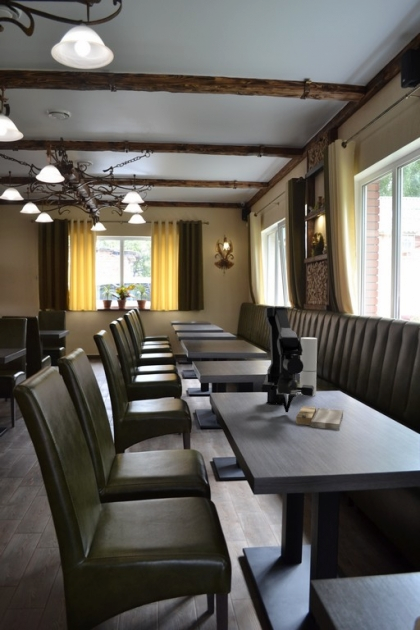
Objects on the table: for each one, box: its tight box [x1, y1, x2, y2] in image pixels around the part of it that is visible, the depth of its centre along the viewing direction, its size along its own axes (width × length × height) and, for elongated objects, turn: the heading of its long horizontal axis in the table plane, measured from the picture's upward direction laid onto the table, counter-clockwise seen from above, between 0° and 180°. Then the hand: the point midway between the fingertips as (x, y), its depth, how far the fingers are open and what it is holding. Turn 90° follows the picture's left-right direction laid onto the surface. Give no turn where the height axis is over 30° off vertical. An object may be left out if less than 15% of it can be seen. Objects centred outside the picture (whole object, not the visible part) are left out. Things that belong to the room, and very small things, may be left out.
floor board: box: [310, 407, 344, 430], centre depth 165 cm, size 9×20×2 cm, turn 161°
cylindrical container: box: [299, 336, 318, 397], centre depth 208 cm, size 7×7×25 cm
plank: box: [295, 406, 317, 426], centre depth 167 cm, size 17×5×3 cm, turn 162°
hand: (286, 412), depth 172 cm, fingers closed
